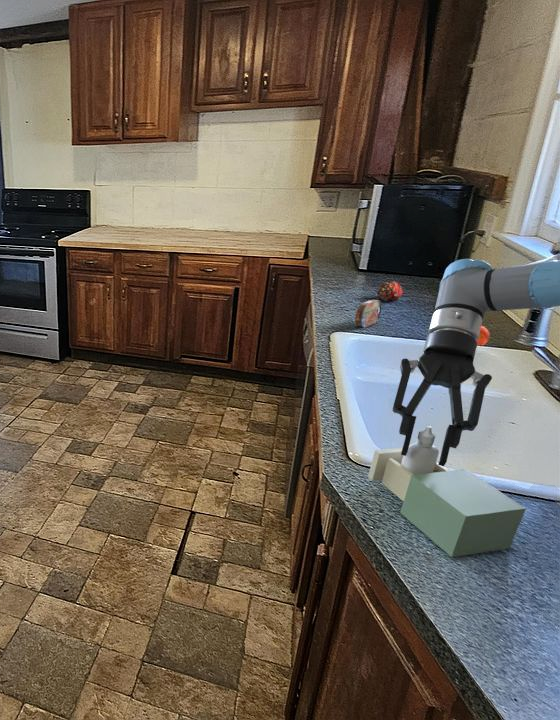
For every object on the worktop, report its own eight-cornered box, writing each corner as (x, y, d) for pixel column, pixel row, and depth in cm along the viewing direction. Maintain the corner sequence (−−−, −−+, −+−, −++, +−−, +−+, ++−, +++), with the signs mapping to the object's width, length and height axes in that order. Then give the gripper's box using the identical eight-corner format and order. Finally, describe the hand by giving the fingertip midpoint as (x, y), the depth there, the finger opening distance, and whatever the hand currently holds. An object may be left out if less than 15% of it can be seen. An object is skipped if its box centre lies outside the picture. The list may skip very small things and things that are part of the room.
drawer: (363, 473, 100) (370, 446, 97) (407, 468, 101) (414, 442, 99) (406, 509, 90) (414, 480, 88) (453, 503, 92) (463, 474, 89)
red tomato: (456, 347, 166) (462, 325, 163) (454, 340, 171) (460, 319, 169) (486, 351, 162) (494, 330, 160) (484, 345, 168) (491, 323, 165)
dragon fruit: (381, 306, 212) (386, 304, 221) (403, 297, 207) (408, 296, 216) (371, 287, 213) (378, 286, 222) (394, 278, 208) (399, 277, 217)
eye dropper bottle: (391, 476, 97) (407, 418, 92) (425, 481, 96) (443, 422, 91) (398, 490, 93) (414, 430, 88) (433, 495, 92) (452, 435, 87)
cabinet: (400, 512, 90) (411, 475, 88) (453, 505, 92) (466, 468, 89) (451, 557, 81) (466, 516, 78) (509, 548, 83) (526, 508, 80)
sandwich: (360, 329, 180) (365, 306, 177) (351, 327, 183) (356, 304, 179) (379, 321, 189) (384, 298, 186) (370, 319, 192) (375, 296, 188)
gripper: (397, 319, 96) (365, 435, 90) (520, 338, 87) (494, 469, 81) (393, 338, 102) (363, 448, 96) (508, 358, 93) (482, 481, 87)
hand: (423, 457), depth 88 cm, fingers open, 5 cm apart
